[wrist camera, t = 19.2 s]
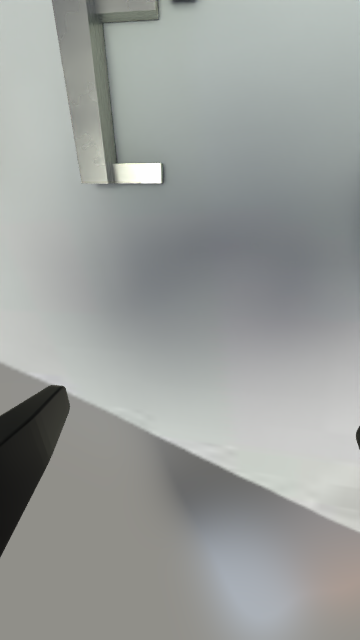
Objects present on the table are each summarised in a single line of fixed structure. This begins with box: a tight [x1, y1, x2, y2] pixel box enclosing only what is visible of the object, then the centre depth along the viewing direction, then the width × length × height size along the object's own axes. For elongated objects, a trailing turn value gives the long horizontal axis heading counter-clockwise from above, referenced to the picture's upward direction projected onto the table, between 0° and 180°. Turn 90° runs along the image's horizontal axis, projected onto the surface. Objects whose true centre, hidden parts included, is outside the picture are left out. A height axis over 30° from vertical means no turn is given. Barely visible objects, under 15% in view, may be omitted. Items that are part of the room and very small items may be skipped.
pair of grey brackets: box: [52, 0, 163, 184], centre depth 14 cm, size 16×8×2 cm, turn 90°
